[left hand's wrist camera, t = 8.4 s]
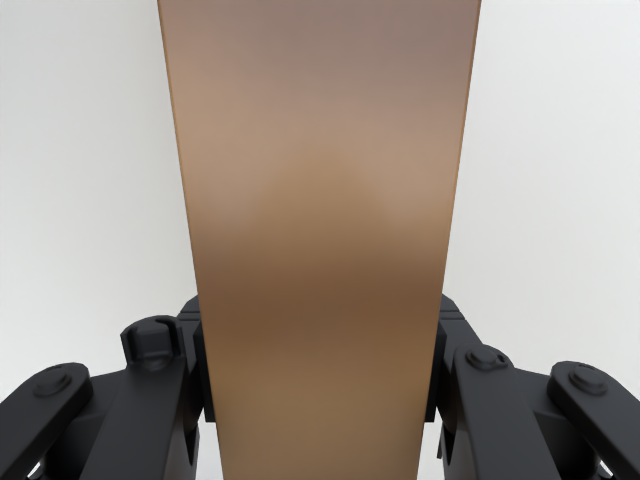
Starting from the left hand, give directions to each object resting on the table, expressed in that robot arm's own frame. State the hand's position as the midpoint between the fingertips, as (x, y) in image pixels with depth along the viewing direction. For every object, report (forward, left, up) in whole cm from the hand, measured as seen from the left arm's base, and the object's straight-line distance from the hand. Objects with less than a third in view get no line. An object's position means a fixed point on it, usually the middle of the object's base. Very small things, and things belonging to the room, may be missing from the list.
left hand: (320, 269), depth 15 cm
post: (+21, -15, -1) cm, 26 cm away
